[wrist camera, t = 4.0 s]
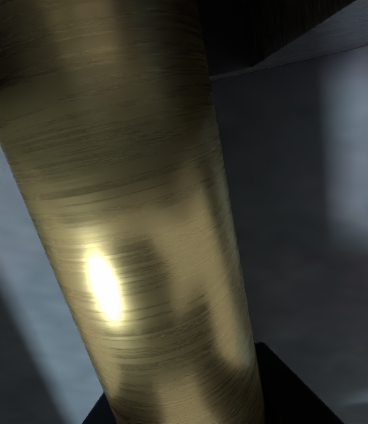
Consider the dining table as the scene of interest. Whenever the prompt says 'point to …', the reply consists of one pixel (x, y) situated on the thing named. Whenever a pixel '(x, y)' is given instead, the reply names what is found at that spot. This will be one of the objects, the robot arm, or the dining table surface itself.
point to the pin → (132, 201)
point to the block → (277, 32)
